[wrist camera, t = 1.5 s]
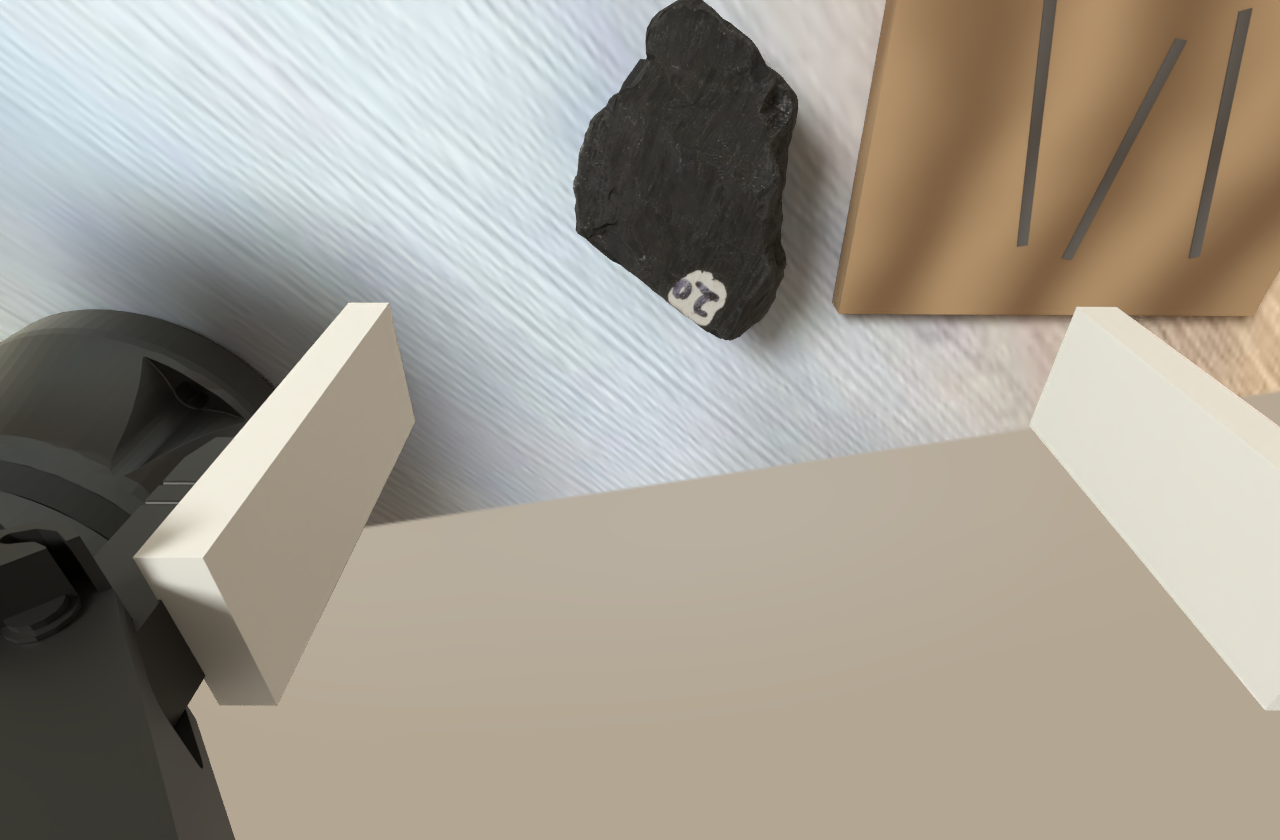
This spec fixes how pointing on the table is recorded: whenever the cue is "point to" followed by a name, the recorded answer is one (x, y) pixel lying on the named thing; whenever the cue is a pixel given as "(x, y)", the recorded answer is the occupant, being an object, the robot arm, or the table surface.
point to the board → (1068, 159)
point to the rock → (693, 171)
